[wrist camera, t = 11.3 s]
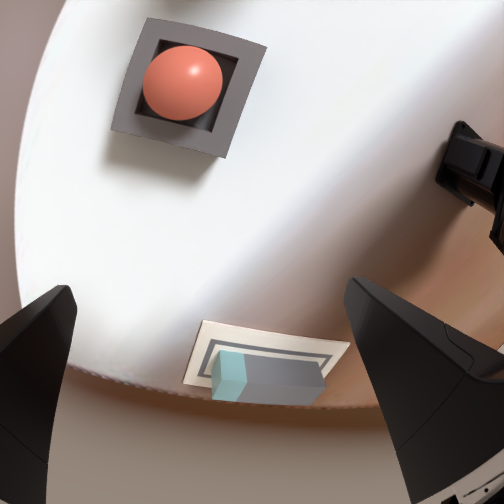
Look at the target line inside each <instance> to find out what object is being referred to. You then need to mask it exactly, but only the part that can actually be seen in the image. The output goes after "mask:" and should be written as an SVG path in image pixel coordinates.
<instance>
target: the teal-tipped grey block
mask: <svg viewBox="0 0 504 504" xmlns="http://www.w3.org/2000/svg"><path fill="white" fill-rule="evenodd" d="M211 383H212V399H216V400H225V401H234V402H245V403H259V404H276V405H311V404H312V403H313V402H314V401H315V400H316V399H317V398H318V397H319V395H320V394H321V393H322V392H323V391H324V390H325V389H326V387H327V386H326V384H325V381H324V378H323V375H322V372H321V369H320V367H319V364H318V362H315V361H303V360H293V359H284V358H275V357H266V356H259V355H251V354H244V353H237V352H231V351H224V350H220V351H219V353H218V356H217V358H216V361H215V363H214V365H213V368H212V370H211Z"/></svg>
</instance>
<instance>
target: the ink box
mask: <svg viewBox="0 0 504 504" xmlns="http://www.w3.org/2000/svg"><path fill="white" fill-rule="evenodd" d="M497 351H498V352H500V353H502V354H504V344H503V345H502V346H501V347H500V348H499V349H498V350H497Z"/></svg>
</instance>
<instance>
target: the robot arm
mask: <svg viewBox="0 0 504 504" xmlns="http://www.w3.org/2000/svg"><path fill="white" fill-rule="evenodd" d="M461 126H462V127H461ZM440 179H441V181H440ZM436 183H437V184H439V185H440V186H442V187H443V188H445V189H446V190H448V191H449V192H451V193H452V194H453V195H455V196H456V197H458V198H459V199H460V200H462V201H463V202H465V203H466V204H467V205H469V206H473V205H474V203H477V204H478V205H480V206H482V207H483V208H485V209H487V210H488V211H490V212H491V213H493V214H494V215H495V218H494V222H493V227H492V231H490V235H489V238H490V239H491V240H492V241H493V243H494V244H495V245H496V246H497V248H498V249H499V250H500V251H501V253H502V254H503V255H504V148H503V147H500V146H498V145H495V144H492V143H490V142H487V141H484V140H483V139H482V138H481V137H480V136H479V135H478V134H477V133H476V132H475V131H474V130H473V129H472V128H471V127H470V126H469V125H467V124H466V123H465V122H464V121H458V122H457V125H456V128H455V131H454V133H453V136H452V139H451V141H450V144H449V147H448V149H447V152H446V154H445V157H444V159H443V162H442V164H441V166H440V169H439V171H438V173H437V176H436ZM344 305H345V308H346V312H347V315H348V318H349V322H350V325H351V329H352V332H353V336H354V339H355V342H356V345H357V348H358V350H359V353H360V355H361V358H362V360H363V363H364V365H365V368H366V370H367V373H368V375H369V378H370V381H371V383H372V386H373V389H374V391H375V394H376V397H377V399H378V402H379V405H380V407H381V410H382V413H383V416H384V419H385V421H386V424H387V427H388V430H389V433H390V436H391V439H392V442H393V445H394V448H395V451H396V455H397V458H398V461H399V464H400V467H401V471H402V474H403V477H404V480H405V484H406V487H407V491H408V494H409V498H410V501H411V504H417V503H419V502H421V501H423V500H425V499H427V498H429V497H431V496H433V495H434V494H436V493H438V492H440V491H442V490H443V489H445V488H447V487H449V486H450V485H452V487H453V490H454V492H455V494H454V495H452V496H450V497H449V498H447V499H445V500H444V501H442V502H441V504H504V354H502V353H500V352H498V351H496V350H494V349H492V348H490V347H488V346H486V345H485V344H483V343H481V342H479V341H477V340H475V339H473V338H471V337H469V336H467V335H465V334H463V333H462V332H460V331H458V330H456V329H455V328H453V327H451V326H450V325H448V324H446V323H445V324H444V322H443V321H441V320H439V319H437V318H436V317H434V316H432V315H431V314H429V313H427V312H425V311H424V310H422V309H420V308H418V307H417V306H415V305H413V304H411V303H409V302H408V301H406V300H404V299H402V298H401V297H399V296H397V295H395V294H393V293H392V292H390V291H388V290H386V289H385V288H383V287H381V286H379V285H377V284H375V283H374V282H372V281H370V280H368V279H366V278H365V277H363V276H355V277H351V278H350V279H349V281H348V284H347V288H346V292H345V296H344ZM76 315H77V305H76V302H75V299H74V297H73V294H72V291H71V288H70V287H69V286H68V285H57V286H56V287H54V288H53V289H51V290H49V291H48V292H46V293H45V294H43V295H42V296H40V297H39V298H37V299H36V300H34V301H33V302H32V303H30V304H29V305H27V306H26V307H24V308H23V309H21V310H20V311H18V312H17V313H16V314H14V315H13V316H11V317H10V318H9V319H7V320H6V321H4V322H3V323H2V324H0V504H46V486H47V472H48V464H47V463H48V460H49V450H50V443H51V436H52V429H53V423H54V417H55V412H56V407H57V402H58V397H59V392H60V387H61V383H62V379H63V374H64V371H65V367H66V363H67V359H68V355H69V351H70V346H71V341H72V335H73V330H74V325H75V320H76Z"/></svg>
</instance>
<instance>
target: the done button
mask: <svg viewBox="0 0 504 504" xmlns="http://www.w3.org/2000/svg"><path fill="white" fill-rule="evenodd" d="M221 88H222V72H221V69H220V66H219V64H218V63H217V61H216V60H215V59H214V57H213V56H212V55H210V54H209V53H208V52H206V51H205V50H203V49H200V48H197V47H193V46H178V47H174V48H171V49H168V50H166V51H164V52H163V53H161V54H160V55H158V56H157V57H156V58H155V59H154V60H153V61H152V62H151V64H150V65H149V66H148V68H147V70H146V72H145V75H144V79H143V93H144V96H145V99H146V101H147V103H148V105H149V106H150V107H151V108H152V109H153V110H154V111H155V112H156V113H157V114H159V115H161V116H163V117H165V118H168V119H172V120H187V119H191V118H194V117H197V116H199V115H201V114H203V113H204V112H206V111H207V110H208V109H209V108H210V107H211V106H212V105H213V104H214V103H215V102H216V100H217V98H218V96H219V94H220V91H221Z"/></svg>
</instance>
